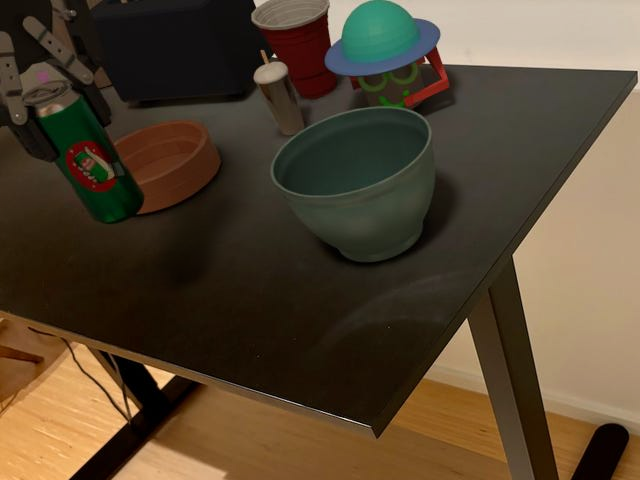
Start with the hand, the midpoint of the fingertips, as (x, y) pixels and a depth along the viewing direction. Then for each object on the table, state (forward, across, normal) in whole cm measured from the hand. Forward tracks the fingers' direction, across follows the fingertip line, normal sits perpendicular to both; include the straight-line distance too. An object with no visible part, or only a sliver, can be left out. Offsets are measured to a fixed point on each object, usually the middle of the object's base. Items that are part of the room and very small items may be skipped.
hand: (76, 141), depth 63 cm
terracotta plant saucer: (+20, -16, -22) cm, 34 cm away
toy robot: (+19, -40, 0) cm, 45 cm away
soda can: (+8, 0, 0) cm, 8 cm away
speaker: (+20, -38, -39) cm, 58 cm away
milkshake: (+20, -32, -14) cm, 40 cm away
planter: (+20, -36, -64) cm, 76 cm away
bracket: (+20, -25, -54) cm, 63 cm away
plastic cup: (+20, -42, -18) cm, 50 cm away
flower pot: (+19, -17, +14) cm, 30 cm away
